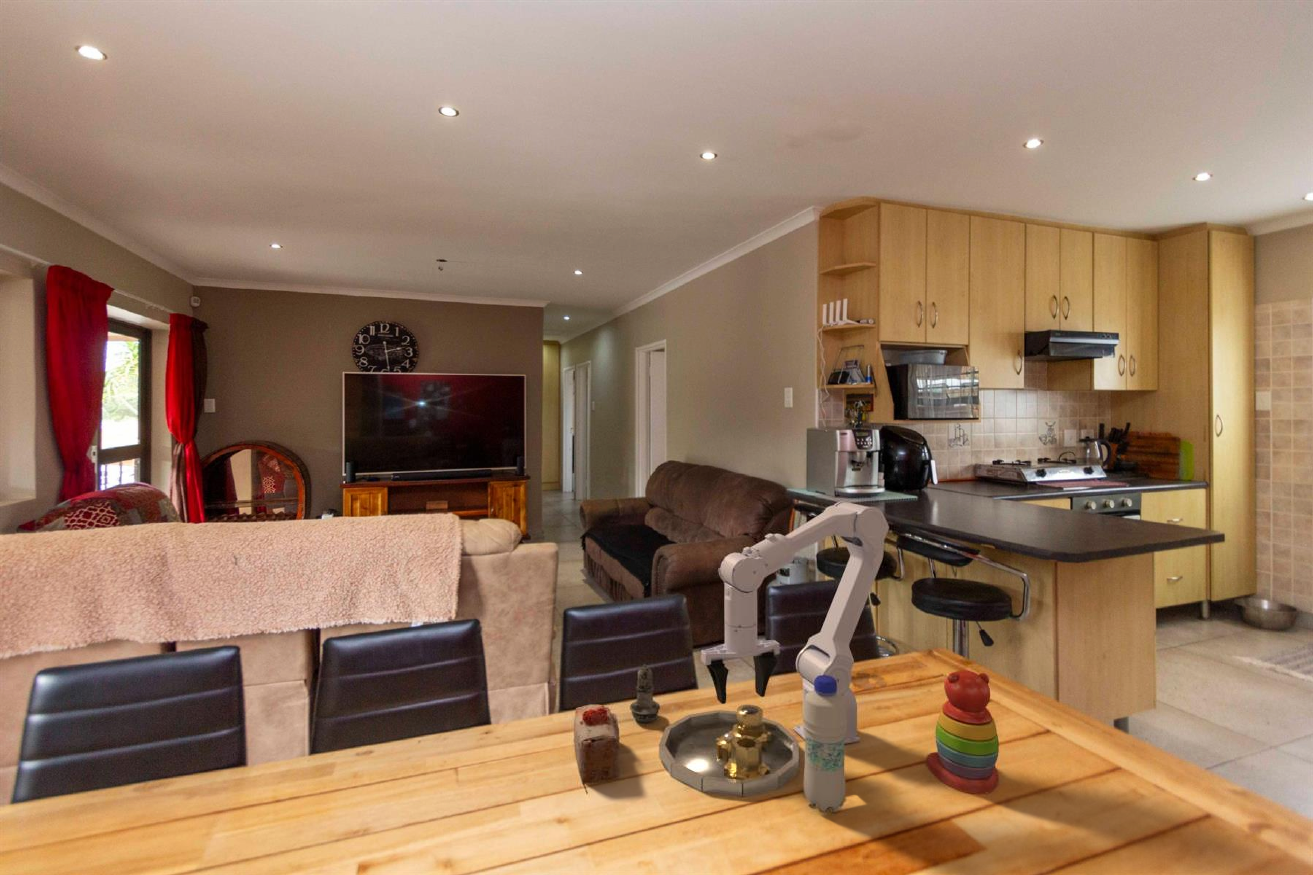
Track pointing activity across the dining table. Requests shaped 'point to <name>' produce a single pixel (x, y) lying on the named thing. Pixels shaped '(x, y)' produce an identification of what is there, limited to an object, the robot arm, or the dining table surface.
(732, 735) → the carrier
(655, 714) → the grey chess piece
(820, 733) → the bottle
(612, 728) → the food item
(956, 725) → the stacking bear
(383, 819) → the dining table surface
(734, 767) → the planet gear
